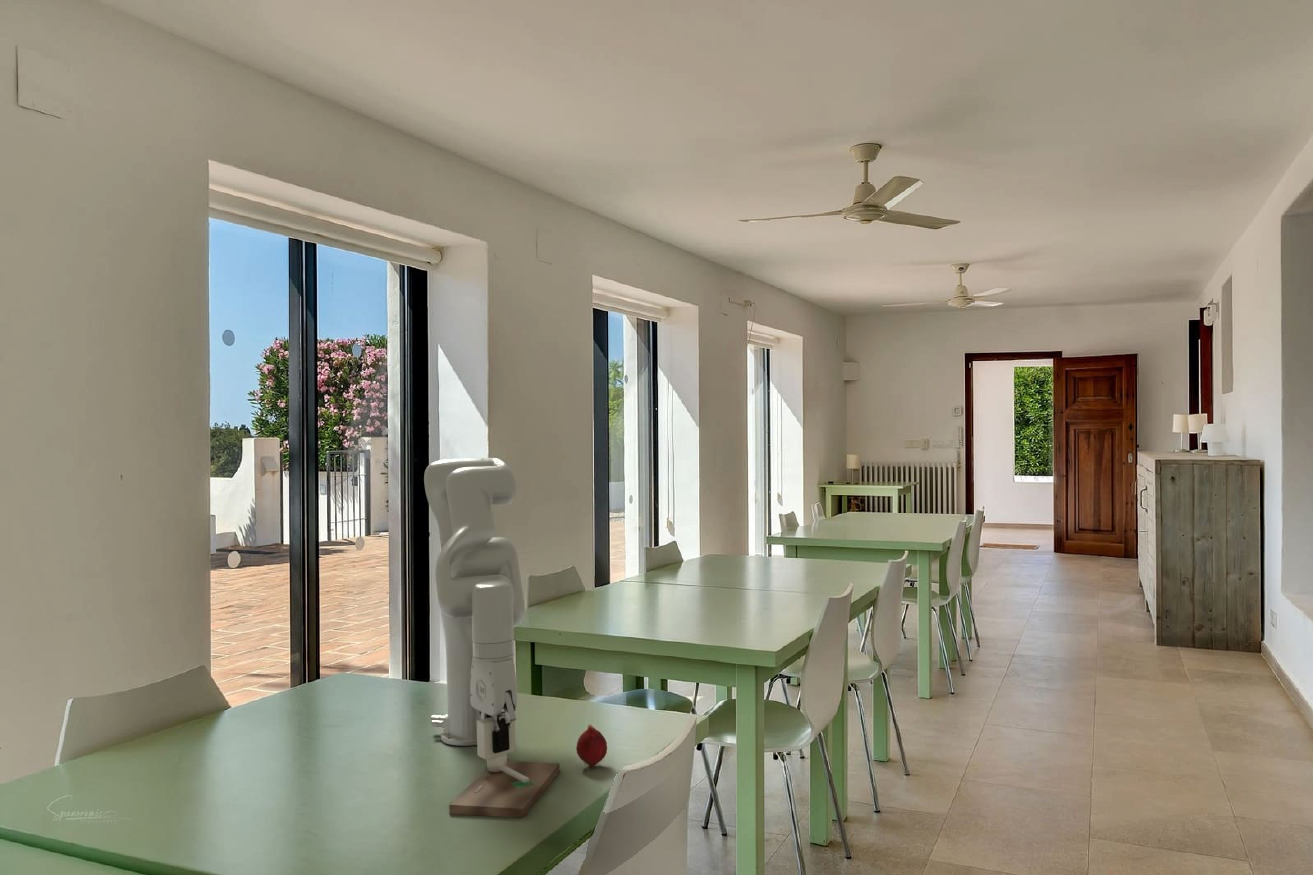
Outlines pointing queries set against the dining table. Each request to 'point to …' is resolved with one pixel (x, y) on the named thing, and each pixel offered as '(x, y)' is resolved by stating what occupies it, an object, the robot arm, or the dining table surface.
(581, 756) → the onion
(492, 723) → the tuning peg
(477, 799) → the board
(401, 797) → the dining table surface
